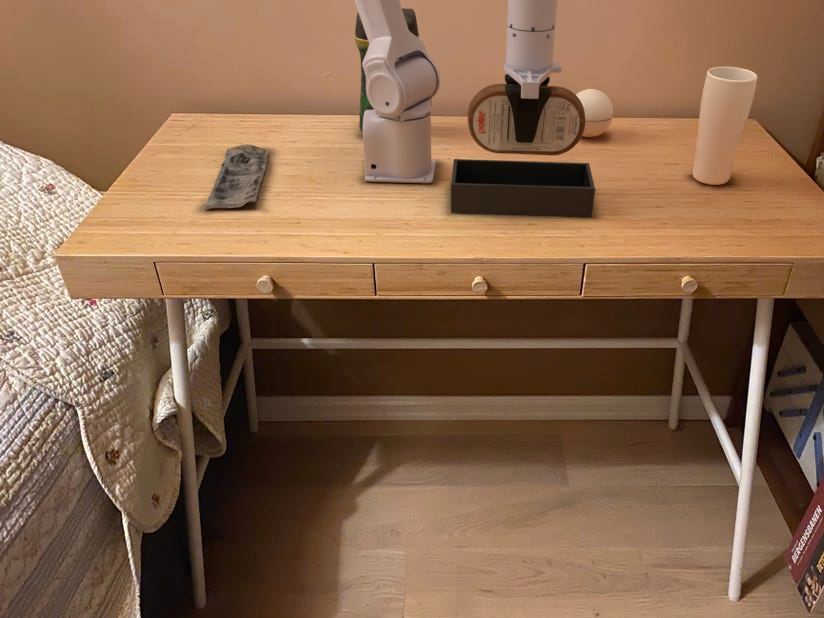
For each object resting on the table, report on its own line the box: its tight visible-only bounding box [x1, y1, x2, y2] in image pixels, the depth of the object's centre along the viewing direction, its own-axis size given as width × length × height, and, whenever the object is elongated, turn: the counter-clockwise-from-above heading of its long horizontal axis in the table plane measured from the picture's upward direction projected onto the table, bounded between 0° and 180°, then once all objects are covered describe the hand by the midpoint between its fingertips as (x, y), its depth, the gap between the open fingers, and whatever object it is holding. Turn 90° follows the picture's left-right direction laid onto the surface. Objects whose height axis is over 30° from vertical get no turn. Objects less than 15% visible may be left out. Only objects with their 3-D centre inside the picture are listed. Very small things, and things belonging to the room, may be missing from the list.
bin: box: [450, 158, 596, 218], centre depth 106 cm, size 18×8×4 cm, turn 89°
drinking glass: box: [691, 66, 758, 186], centre depth 110 cm, size 7×7×15 cm
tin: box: [467, 83, 585, 156], centre depth 101 cm, size 15×3×8 cm, turn 89°
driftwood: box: [204, 143, 270, 211], centre depth 110 cm, size 21×7×2 cm, turn 6°
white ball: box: [575, 88, 626, 138], centre depth 126 cm, size 10×7×7 cm
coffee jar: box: [354, 7, 420, 134], centre depth 121 cm, size 10×8×19 cm
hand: (524, 137), depth 102 cm, fingers closed on tin, 2 cm apart
